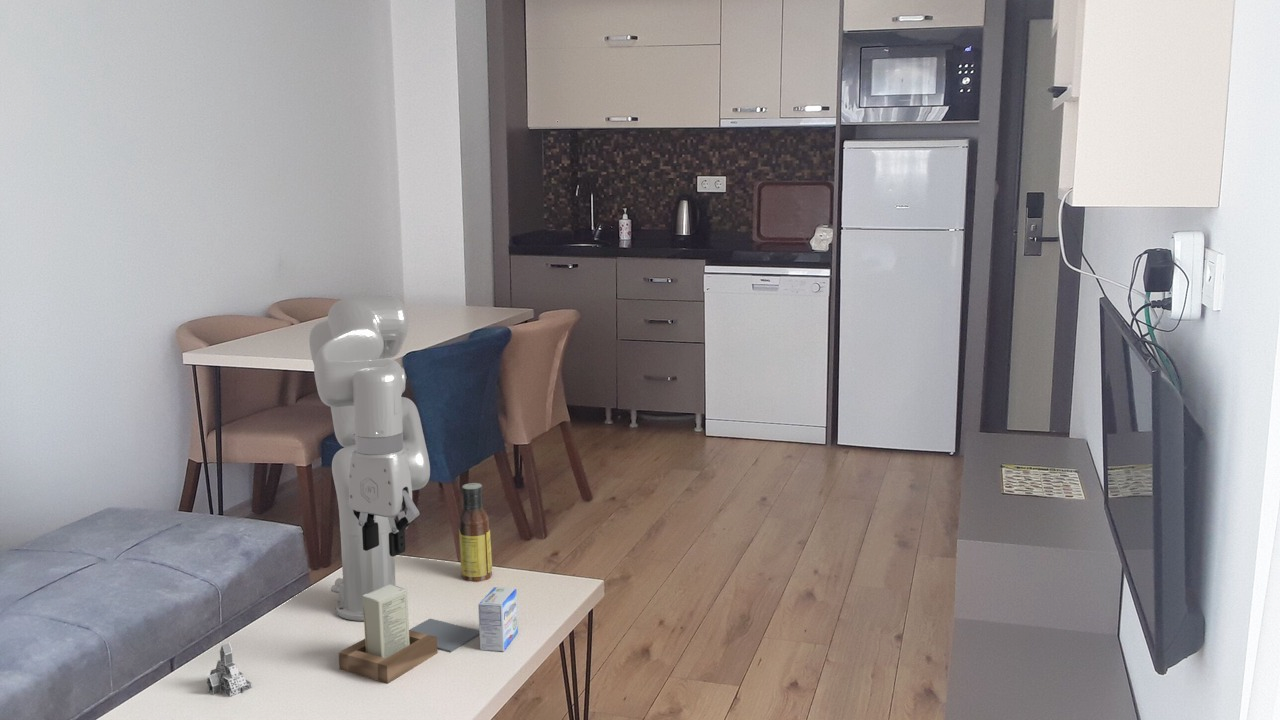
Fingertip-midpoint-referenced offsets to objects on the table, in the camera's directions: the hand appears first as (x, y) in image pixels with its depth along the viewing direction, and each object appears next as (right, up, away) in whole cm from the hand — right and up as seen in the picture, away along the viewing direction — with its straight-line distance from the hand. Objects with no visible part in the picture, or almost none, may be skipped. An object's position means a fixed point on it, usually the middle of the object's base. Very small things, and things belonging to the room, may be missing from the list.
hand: (384, 549), depth 173 cm
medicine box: (+18, -18, +11) cm, 27 cm away
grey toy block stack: (-26, -22, -7) cm, 34 cm away
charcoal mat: (+7, -18, +13) cm, 23 cm away
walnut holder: (0, -19, +3) cm, 20 cm away
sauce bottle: (+9, -13, +40) cm, 43 cm away
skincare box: (0, -19, +3) cm, 20 cm away
